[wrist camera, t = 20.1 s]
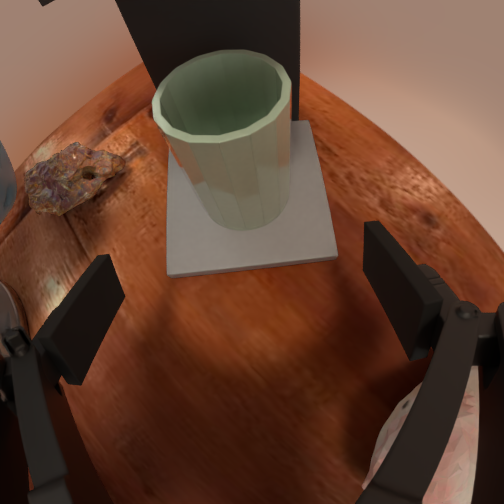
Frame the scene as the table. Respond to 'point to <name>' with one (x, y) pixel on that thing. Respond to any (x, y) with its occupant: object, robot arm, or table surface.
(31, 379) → the robot arm
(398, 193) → the table surface
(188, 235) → the coffee maker
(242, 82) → the cup
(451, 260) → the table surface
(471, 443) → the seashell
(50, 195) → the mineral specimen
